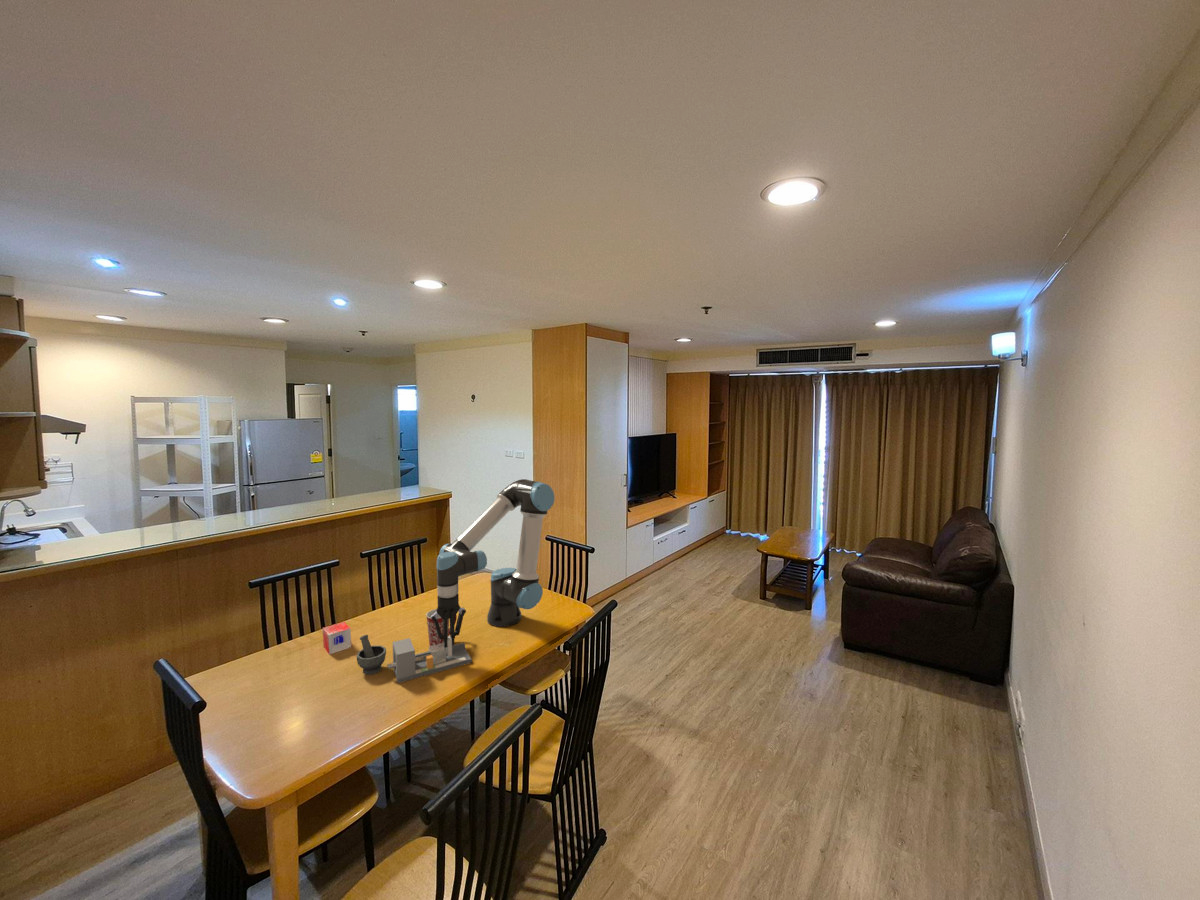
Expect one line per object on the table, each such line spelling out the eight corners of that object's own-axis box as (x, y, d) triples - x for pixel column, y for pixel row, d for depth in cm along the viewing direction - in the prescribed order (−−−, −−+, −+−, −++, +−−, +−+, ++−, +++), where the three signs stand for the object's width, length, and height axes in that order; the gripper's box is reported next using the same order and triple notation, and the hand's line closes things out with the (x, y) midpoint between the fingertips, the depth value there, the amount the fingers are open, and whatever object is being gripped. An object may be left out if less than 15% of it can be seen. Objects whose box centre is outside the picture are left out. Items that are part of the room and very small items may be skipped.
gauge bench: (464, 650, 186) (463, 625, 185) (471, 662, 178) (471, 636, 177) (393, 669, 173) (392, 642, 172) (397, 683, 164) (396, 654, 163)
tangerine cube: (432, 665, 172) (431, 654, 172) (433, 667, 171) (432, 657, 170) (426, 666, 171) (426, 656, 171) (427, 669, 170) (427, 658, 169)
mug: (434, 653, 184) (433, 620, 183) (422, 645, 190) (421, 613, 189) (462, 641, 194) (462, 610, 192) (450, 634, 199) (450, 603, 198)
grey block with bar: (442, 655, 180) (442, 643, 179) (447, 664, 174) (446, 651, 173) (387, 670, 169) (386, 656, 169) (389, 679, 163) (389, 666, 163)
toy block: (345, 640, 194) (344, 621, 193) (351, 647, 188) (350, 628, 187) (323, 646, 188) (322, 628, 187) (329, 654, 182) (328, 635, 182)
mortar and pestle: (391, 668, 173) (390, 637, 172) (366, 680, 166) (365, 648, 164) (375, 658, 180) (374, 628, 179) (350, 669, 172) (349, 638, 171)
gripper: (462, 587, 182) (463, 645, 185) (427, 594, 176) (429, 654, 178) (468, 594, 176) (469, 654, 178) (432, 601, 169) (433, 663, 172)
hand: (449, 654), depth 178 cm, fingers closed
